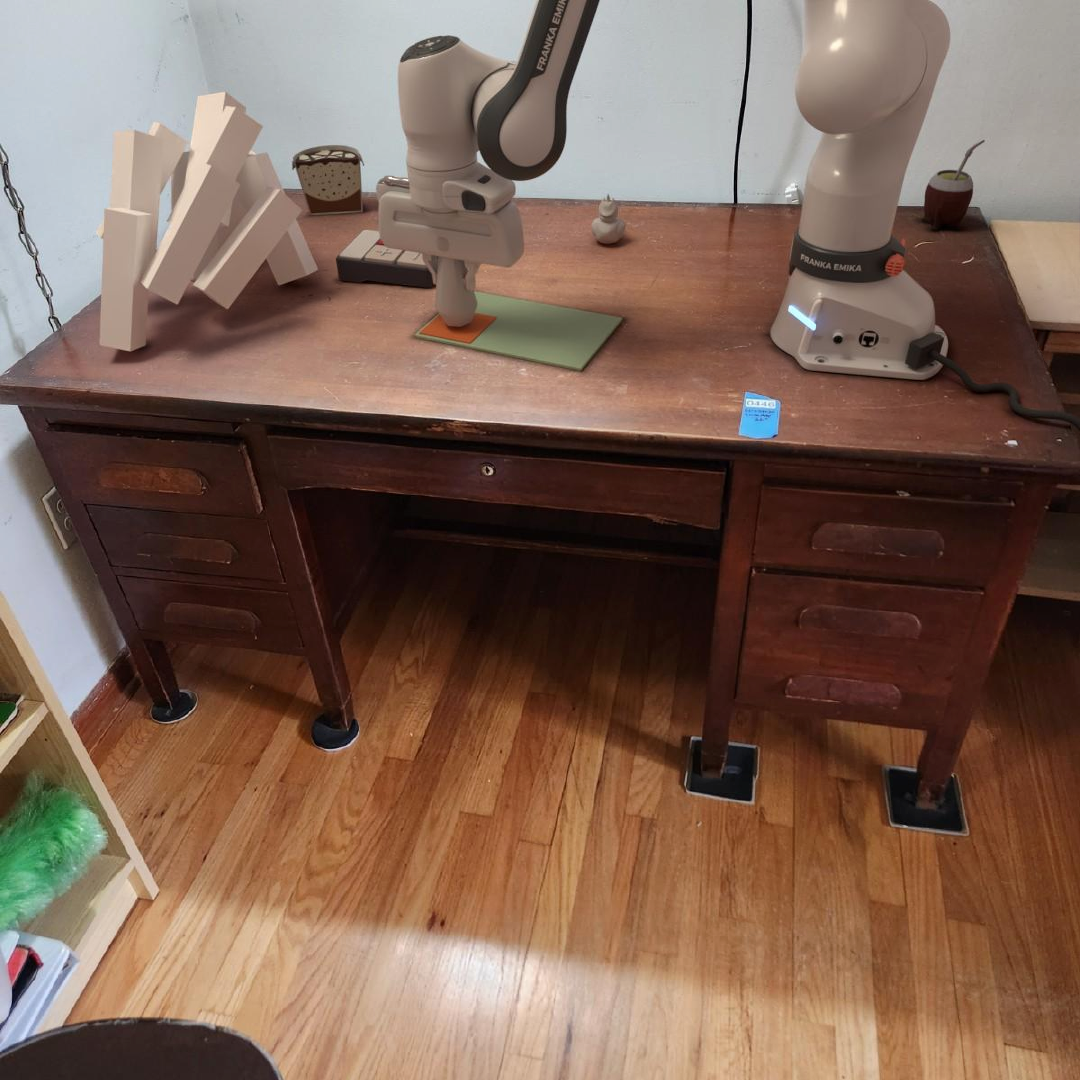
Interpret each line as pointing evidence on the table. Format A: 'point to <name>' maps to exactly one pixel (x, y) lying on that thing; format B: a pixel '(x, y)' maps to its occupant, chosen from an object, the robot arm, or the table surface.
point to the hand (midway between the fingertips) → (454, 286)
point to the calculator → (381, 263)
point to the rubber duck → (608, 223)
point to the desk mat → (527, 331)
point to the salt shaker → (453, 290)
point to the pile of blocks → (193, 218)
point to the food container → (330, 179)
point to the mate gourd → (949, 196)
